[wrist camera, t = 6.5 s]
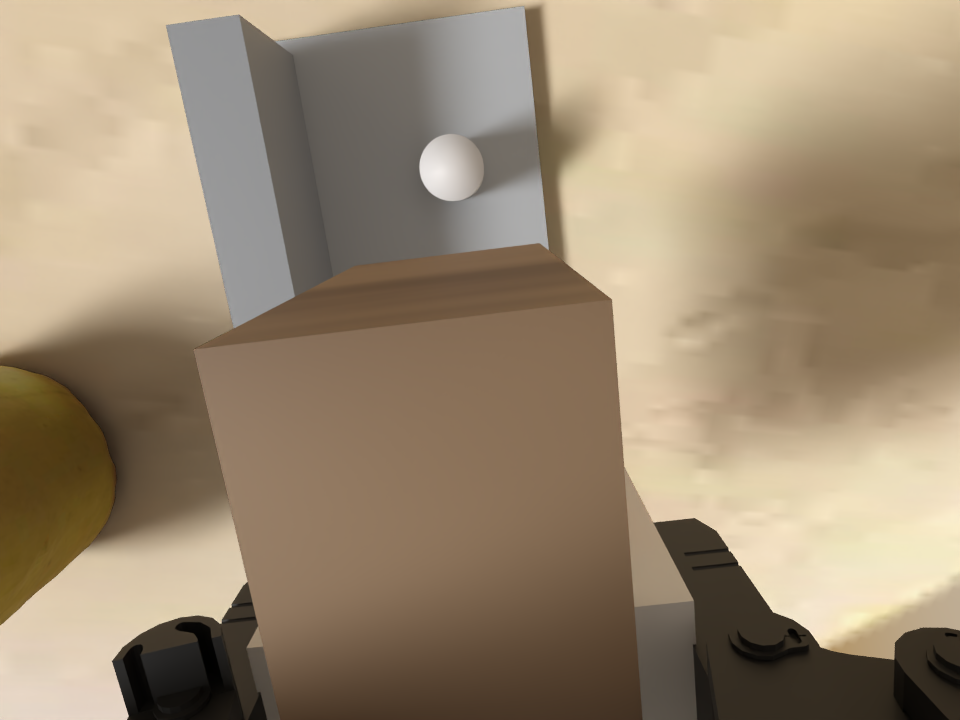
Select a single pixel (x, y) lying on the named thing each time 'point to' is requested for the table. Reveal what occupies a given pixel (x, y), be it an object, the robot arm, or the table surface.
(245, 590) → the robot arm
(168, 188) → the table surface
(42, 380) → the mug
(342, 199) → the ledge
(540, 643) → the picture block
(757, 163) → the table surface
